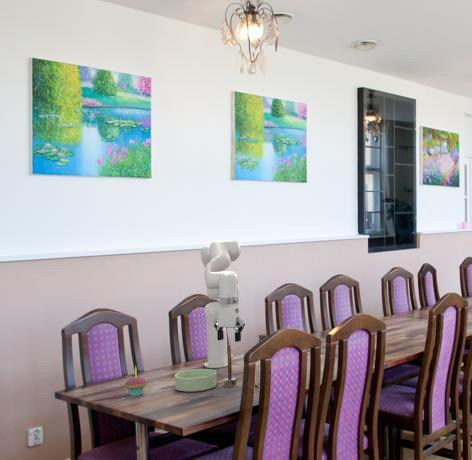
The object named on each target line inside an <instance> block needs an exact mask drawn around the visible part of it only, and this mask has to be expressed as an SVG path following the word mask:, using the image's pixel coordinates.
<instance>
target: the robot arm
mask: <svg viewBox="0 0 472 460" xmlns="http://www.w3.org/2000/svg"><path fill="white" fill-rule="evenodd" d="M241 251H242V249H241V245H240V242H238V241H237V240H236V239H221V240H214V241H212V242H211V243H210V244H209V245H205V246H203V247H202V248H201V249H200V258H201V262H202V265H203V267H204V271H203V275H204V281H205V285H206V294H207V297H208V299H210V300H218V301H215V302H214V301H213V302H209V303H207V304H206V305H205V306H204V316H205V323H206V325H205V326H206V349H207V350H206V352H207V353H206V354H207V356H206V358H207V362H205V363H204V365H203V366H204V367H205V368H206V369H222V368H226V367H228V354H227V347H228V333H227V329H233V330H234V331H235V332H234V342H236V343H237V342H241V341H242V332H243V330H244V329H245V325H246V322H245V321H244V320H243V319H242V306H241V305H242V304H241V289H240V284H239V280H240V279H239V275H238V274H237V272H236V271H231V270H228V271H225V270H227V269H228V268H229V267H230V266H231V264H232V263H233V262H236V261H237V260H238V259H239V257H241ZM233 358H234V355H233V354H232V353H231V359H233Z"/></svg>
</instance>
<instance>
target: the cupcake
mask: <svg viewBox="0 0 472 460" xmlns="http://www.w3.org/2000/svg"><path fill="white" fill-rule="evenodd" d="M137 368H138V367H137V365H136V364H135V367H134V377H130V378H129V379H127V381H126V382H124V387H125V388H126V389H127V391H128V394H129V396H130V397H138V396H141V395H143V392H144V389H145V387H146V386H148V381H147V379H145V378H143V377H139V376H138V369H137Z"/></svg>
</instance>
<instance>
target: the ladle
mask: <svg viewBox="0 0 472 460" xmlns="http://www.w3.org/2000/svg"><path fill="white" fill-rule="evenodd" d="M231 354H232V345H230V344H229V345H228V344H227V355H228V366H227V377H226V378H224V379H223V387H224V388H234V387H236V386H237V378H235V377H233V371H232V358H231Z"/></svg>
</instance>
